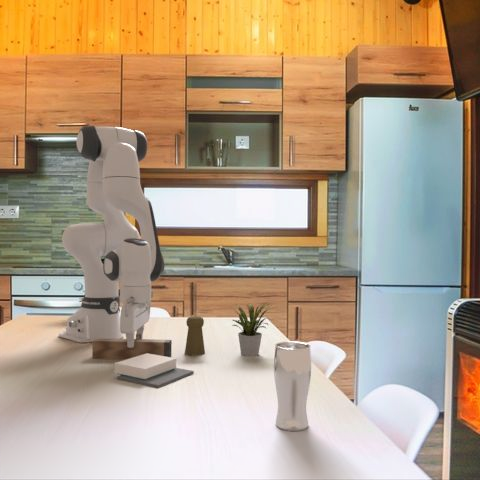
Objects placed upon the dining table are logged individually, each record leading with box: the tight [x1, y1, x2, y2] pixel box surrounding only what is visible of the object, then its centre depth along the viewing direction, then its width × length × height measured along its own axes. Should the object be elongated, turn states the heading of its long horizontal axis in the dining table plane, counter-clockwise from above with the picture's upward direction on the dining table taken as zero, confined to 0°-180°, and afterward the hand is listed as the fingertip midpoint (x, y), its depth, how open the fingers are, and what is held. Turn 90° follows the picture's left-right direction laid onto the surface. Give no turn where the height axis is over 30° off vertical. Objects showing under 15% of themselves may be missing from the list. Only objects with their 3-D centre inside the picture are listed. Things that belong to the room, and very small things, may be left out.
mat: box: [116, 367, 195, 389], centre depth 122 cm, size 13×14×1 cm
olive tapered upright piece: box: [184, 315, 206, 356], centre depth 147 cm, size 6×6×11 cm
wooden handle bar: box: [91, 338, 173, 360], centre depth 140 cm, size 22×4×5 cm, turn 88°
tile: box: [113, 353, 177, 380], centre depth 124 cm, size 3×12×10 cm
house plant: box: [230, 300, 277, 358], centre depth 146 cm, size 14×14×16 cm
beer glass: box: [273, 341, 312, 432], centre depth 92 cm, size 7×7×15 cm
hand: (135, 343), depth 140 cm, fingers open, 8 cm apart
